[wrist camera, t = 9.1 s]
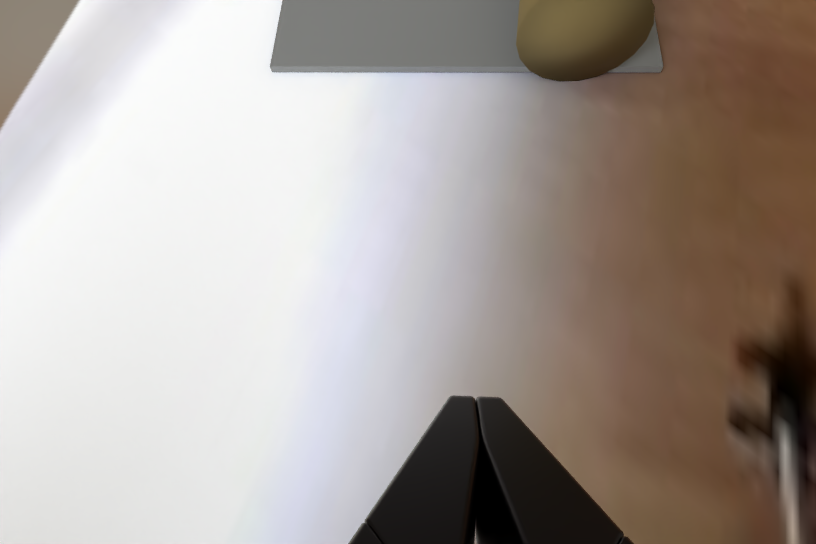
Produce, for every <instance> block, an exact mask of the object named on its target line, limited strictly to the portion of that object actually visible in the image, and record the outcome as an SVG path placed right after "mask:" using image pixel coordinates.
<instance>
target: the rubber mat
mask: <svg viewBox="0 0 816 544" xmlns="http://www.w3.org/2000/svg"><path fill="white" fill-rule="evenodd" d="M519 1H520V0H283V1H282V6H281V12H280V17H279V22H278V27H277V33H276V38H275V43H274V49H273V54H272V59H271V64H270V68H271V70H272V72H531V71H530V70H528V68H527V67H526V66H525V65H524V63H523V62H522V61H521V60H520V58H519V54H518V50H517V46H516V38H517V26H518V13H519ZM662 68H663V62H662V56H661V51H660V45H659V39H658V34H657V28H656V22H655V17H654V24H653V26H652V29H651V31H650V33H649V35H648V38H647V40H646V41H645V42H644V43H643V45H642V46H641V47H640V48H639V49H638V50H637V52H636V53H635V54H634V55H633V56H632V57H630V58H629V59H628V60H626V61H625V62H623V63H622V64H621V65H619V66H618V67H616V68H614V69H612V70H610V71H608V72H661V70H662Z"/></svg>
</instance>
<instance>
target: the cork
mask: <svg viewBox="0 0 816 544" xmlns="http://www.w3.org/2000/svg"><path fill="white" fill-rule="evenodd" d="M653 24H654V4H653V2H652V0H520V1H519V13H518V26H517V38H516V46H517V50H518V54H519V58H520V60H521V61H522V62H523V63H524V65H525V66H526V67H527V68H528V70H530V71H531V72H533V73H535V74H537V75H539V76H540V77H542V78H546V79H551V80H556V81H579V80H583V79H588V78H592V77H596V76H599V75H601V74H603V73H606V72H608V71H610V70H612V69H614V68H616V67H618V66H619V65H621V64H622V63H623V62H625V61H626V60H628V59H629V58H630V57H632V56H633V55H634V54H635V53H636V52H637V50H638V49H639V48H640V47H641V46H642V45H643V43H644V42H645V41H646V40H647V38H648V35H649V33H650V31H651V29H652V26H653Z"/></svg>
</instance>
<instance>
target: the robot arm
mask: <svg viewBox="0 0 816 544" xmlns="http://www.w3.org/2000/svg"><path fill="white" fill-rule="evenodd" d="M475 529H476V541H477V544H633V543H632V541H631V540H630V539H629V538H628V537H626V536H624V534H623V532H622V531H621V530H620V529H619V527H618V526H617V525H616V524H615V523H614V522H613V521H612V520H611V519H610V517H609V516H608V515H607V514H606V513H605V512H604V511H603V510H602V509H601V508H600V506H599V505H598V504H597V503H596V502H595V501H594V500H593V499H592V498H591V497H590V495H589V494H588V493H587V492H586V491H585V490H584V489H583V488H582V487H581V485H580V484H579V483H578V482H577V481H576V480H575V479H574V478H573V477H572V476H571V474H570V473H569V472H568V471H567V470H566V469H565V468H564V467H563V466H562V465H561V463H560V462H559V461H558V460H557V459H556V458H555V457H554V456H553V455H552V453H551V452H550V451H549V450H548V449H547V448H546V447H545V446H544V445H543V444H542V442H541V441H540V440H539V439H538V438H537V437H536V436H535V435H534V434H533V433H532V431H531V430H530V429H529V428H528V427H527V426H526V425H525V424H524V423H523V421H522V420H521V419H520V418H519V417H518V416H517V415H516V414H515V413H514V412H513V410H512V409H511V408H510V407H509V406H508V405H507V404H506V403H505V402H504V401H503V399H501V398H499V397H477V398H476V401H475V399H474V398H473V397H471V396H450V397H449V398H448V400H447V401H446V402H445V404H444V405H443V407H442V408H441V410H440V411H439V413H438V414H437V416H436V417H435V418H434V420H433V421H432V423H431V424H430V426H429V427H428V429H427V430H426V432H425V433H424V435H423V436H422V437H421V439H420V440H419V442H418V443H417V445H416V446H415V448H414V449H413V451H412V452H411V453H410V455H409V456H408V458H407V459H406V461H405V462H404V464H403V465H402V467H401V468H400V469H399V471H398V472H397V474H396V475H395V477H394V478H393V480H392V481H391V483H390V484H389V485H388V487H387V488H386V490H385V491H384V493H383V494H382V496H381V497H380V499H379V500H378V502H377V503H376V504H375V506H374V507H373V509H372V510H371V512H370V513H369V515H368V516H367V518H366V519H365V523H362V524H361V526H360V527H359V529H358V530H357V532H356V533H355V535H354V536H353V538H352V539H351V540H350V542H349V543H348V544H474V540H475Z"/></svg>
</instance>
